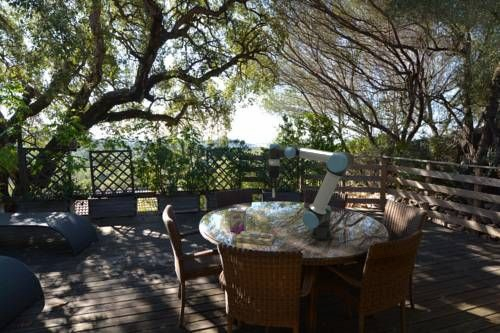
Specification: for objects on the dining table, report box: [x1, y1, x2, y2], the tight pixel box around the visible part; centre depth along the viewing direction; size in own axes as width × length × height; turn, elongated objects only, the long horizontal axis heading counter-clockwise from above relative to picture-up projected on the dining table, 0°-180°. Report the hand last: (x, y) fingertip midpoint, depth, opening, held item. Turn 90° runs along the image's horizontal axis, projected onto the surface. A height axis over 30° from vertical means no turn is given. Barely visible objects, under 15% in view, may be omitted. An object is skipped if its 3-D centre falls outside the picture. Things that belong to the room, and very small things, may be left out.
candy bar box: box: [229, 208, 247, 234], centre depth 231 cm, size 11×5×16 cm, turn 70°
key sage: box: [241, 233, 251, 237], centre depth 215 cm, size 5×5×3 cm
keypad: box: [235, 231, 276, 246], centre depth 213 cm, size 24×14×3 cm, turn 75°
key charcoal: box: [261, 235, 271, 239], centre depth 211 cm, size 5×5×3 cm
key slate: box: [251, 230, 262, 238], centre depth 213 cm, size 5×5×3 cm
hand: (273, 197), depth 228 cm, fingers closed
